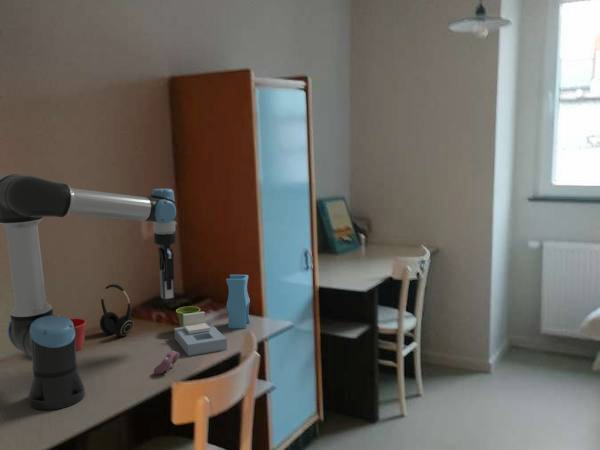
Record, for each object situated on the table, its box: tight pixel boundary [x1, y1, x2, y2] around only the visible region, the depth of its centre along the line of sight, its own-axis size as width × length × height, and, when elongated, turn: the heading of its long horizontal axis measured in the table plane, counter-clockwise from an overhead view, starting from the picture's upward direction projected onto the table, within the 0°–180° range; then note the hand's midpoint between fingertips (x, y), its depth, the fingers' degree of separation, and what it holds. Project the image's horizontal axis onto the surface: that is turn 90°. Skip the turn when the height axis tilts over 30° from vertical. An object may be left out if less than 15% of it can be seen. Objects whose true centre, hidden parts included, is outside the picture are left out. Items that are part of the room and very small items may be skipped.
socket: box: [174, 322, 228, 357], centre depth 213 cm, size 14×20×4 cm
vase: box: [225, 274, 251, 330], centre depth 233 cm, size 8×8×20 cm
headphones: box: [99, 283, 134, 338], centre depth 222 cm, size 9×15×20 cm, turn 62°
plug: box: [159, 269, 175, 300], centre depth 208 cm, size 4×4×11 cm
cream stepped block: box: [183, 311, 210, 334], centre depth 216 cm, size 8×8×5 cm
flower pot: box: [69, 317, 87, 352], centre depth 209 cm, size 11×11×10 cm
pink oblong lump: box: [153, 350, 181, 375], centre depth 190 cm, size 10×5×7 cm, turn 169°
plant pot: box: [175, 305, 201, 328], centre depth 227 cm, size 9×9×9 cm
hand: (167, 296), depth 209 cm, fingers closed on plug, 4 cm apart
